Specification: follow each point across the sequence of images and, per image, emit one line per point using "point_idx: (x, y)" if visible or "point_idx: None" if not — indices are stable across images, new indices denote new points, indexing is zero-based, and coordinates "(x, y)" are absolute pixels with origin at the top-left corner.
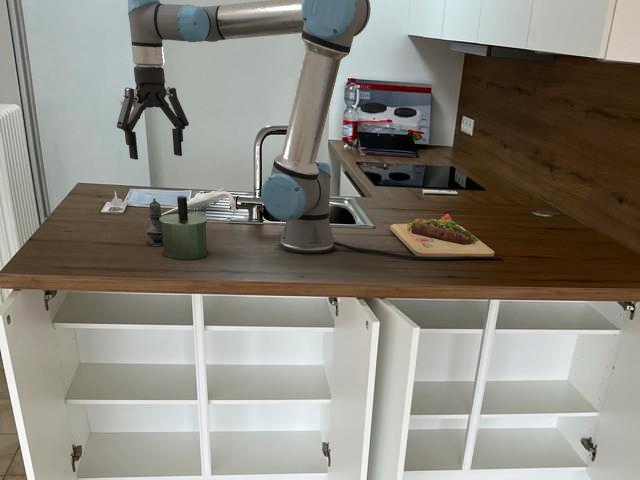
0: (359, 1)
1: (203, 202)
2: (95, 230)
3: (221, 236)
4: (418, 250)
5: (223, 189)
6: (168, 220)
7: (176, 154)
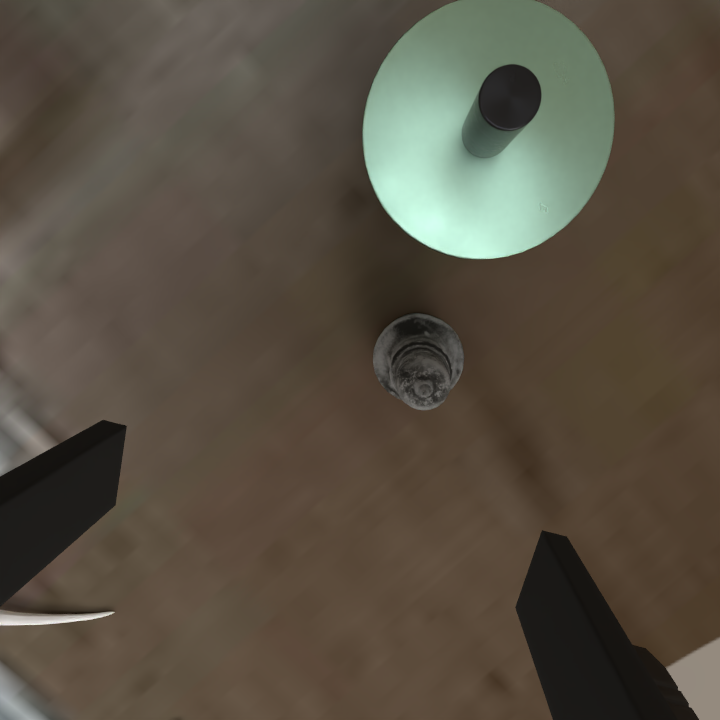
0: None
1: None
2: (422, 632)
3: (160, 245)
4: None
5: None
6: (567, 162)
7: (116, 473)
